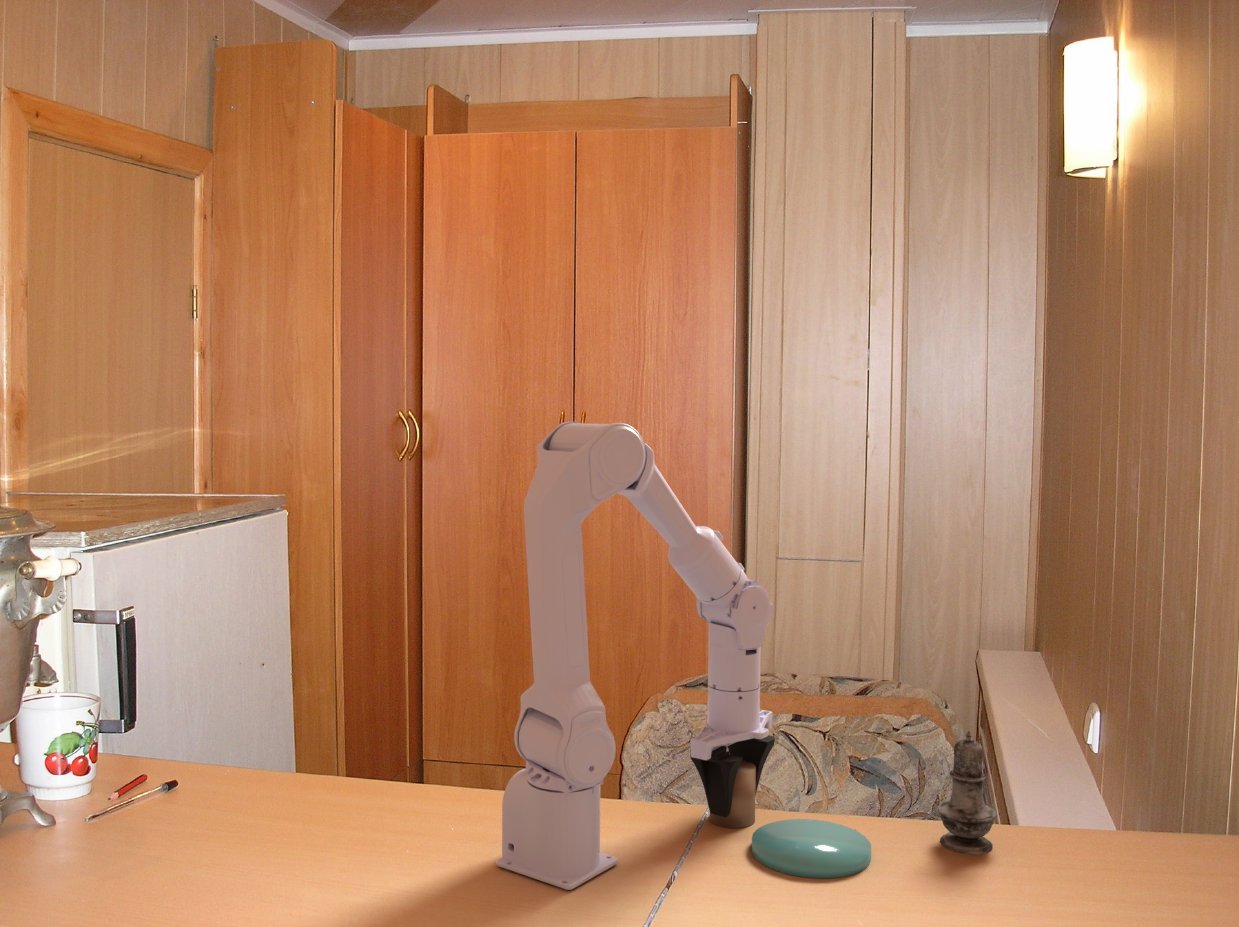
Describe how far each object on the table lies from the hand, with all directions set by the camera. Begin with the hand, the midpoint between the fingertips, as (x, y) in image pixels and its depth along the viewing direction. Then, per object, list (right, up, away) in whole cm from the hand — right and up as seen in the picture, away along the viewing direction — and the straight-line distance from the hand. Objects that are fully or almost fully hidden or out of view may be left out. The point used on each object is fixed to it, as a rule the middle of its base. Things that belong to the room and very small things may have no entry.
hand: (732, 806), depth 119 cm
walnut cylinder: (0, -1, 0) cm, 1 cm away
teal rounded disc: (+7, -2, -9) cm, 11 cm away
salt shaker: (+24, -2, -6) cm, 25 cm away
